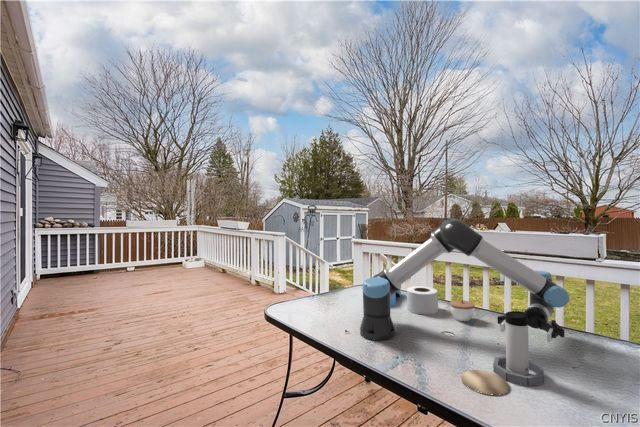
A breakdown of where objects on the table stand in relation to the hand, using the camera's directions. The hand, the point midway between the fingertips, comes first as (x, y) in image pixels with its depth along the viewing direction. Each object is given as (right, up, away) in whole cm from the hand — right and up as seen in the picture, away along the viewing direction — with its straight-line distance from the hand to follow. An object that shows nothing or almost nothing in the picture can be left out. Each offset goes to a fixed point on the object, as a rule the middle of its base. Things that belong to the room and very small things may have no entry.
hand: (523, 333), depth 107 cm
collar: (-5, -11, -5) cm, 13 cm away
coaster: (-19, -12, -10) cm, 24 cm away
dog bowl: (-32, -11, +81) cm, 88 cm away
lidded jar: (-1, -10, +43) cm, 45 cm away
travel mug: (-5, -11, -5) cm, 14 cm away
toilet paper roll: (-15, -10, +59) cm, 62 cm away
